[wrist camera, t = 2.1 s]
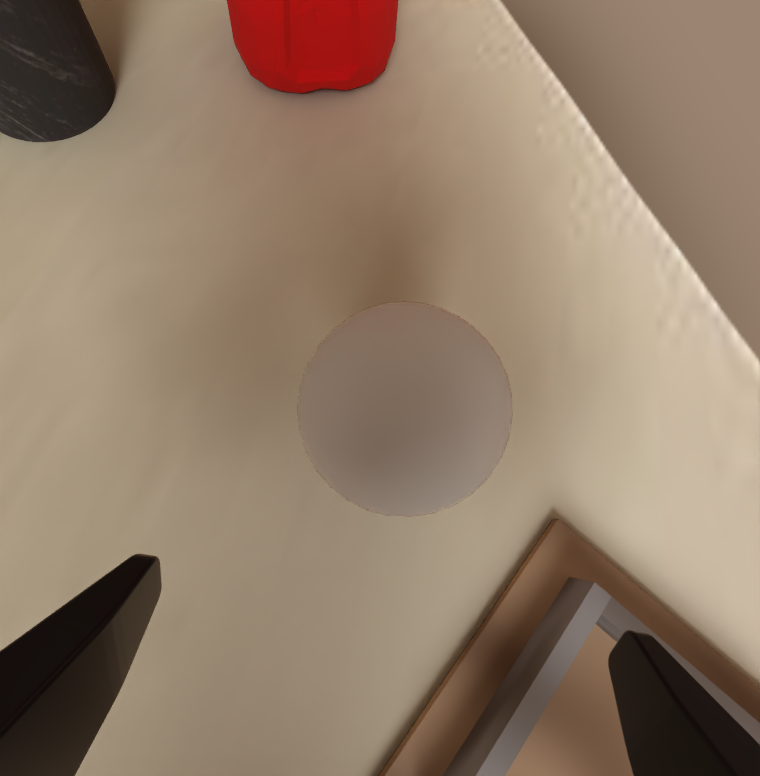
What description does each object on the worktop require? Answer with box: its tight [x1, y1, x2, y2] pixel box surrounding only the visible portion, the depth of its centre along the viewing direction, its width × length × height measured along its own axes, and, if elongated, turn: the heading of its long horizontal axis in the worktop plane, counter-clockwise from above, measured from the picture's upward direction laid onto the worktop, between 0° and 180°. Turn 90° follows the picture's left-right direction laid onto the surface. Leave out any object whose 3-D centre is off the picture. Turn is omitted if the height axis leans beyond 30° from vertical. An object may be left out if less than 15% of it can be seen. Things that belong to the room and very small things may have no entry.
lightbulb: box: [297, 302, 512, 517], centre depth 15 cm, size 6×6×11 cm
